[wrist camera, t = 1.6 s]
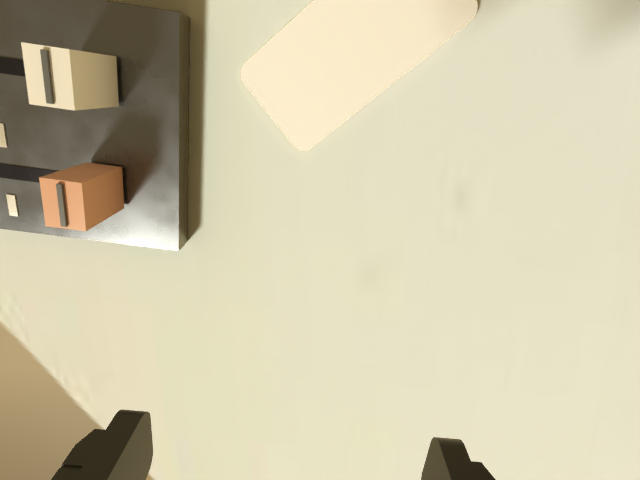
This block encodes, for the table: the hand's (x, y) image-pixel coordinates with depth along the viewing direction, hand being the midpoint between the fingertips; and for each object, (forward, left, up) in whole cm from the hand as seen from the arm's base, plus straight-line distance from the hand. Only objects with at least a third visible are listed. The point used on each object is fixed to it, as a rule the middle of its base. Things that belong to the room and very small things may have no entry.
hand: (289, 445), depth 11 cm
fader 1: (-8, -15, -18) cm, 25 cm away
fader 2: (-1, -15, -18) cm, 24 cm away
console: (-5, -22, -21) cm, 30 cm away
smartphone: (-13, +1, -21) cm, 25 cm away
